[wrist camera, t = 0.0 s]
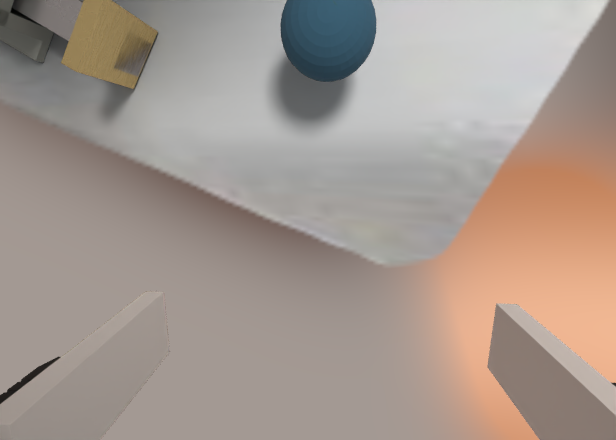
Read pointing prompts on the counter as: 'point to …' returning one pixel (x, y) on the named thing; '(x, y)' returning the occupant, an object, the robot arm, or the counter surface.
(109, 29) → the shaft
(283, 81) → the counter surface
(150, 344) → the robot arm
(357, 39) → the teal egg
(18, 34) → the housing
